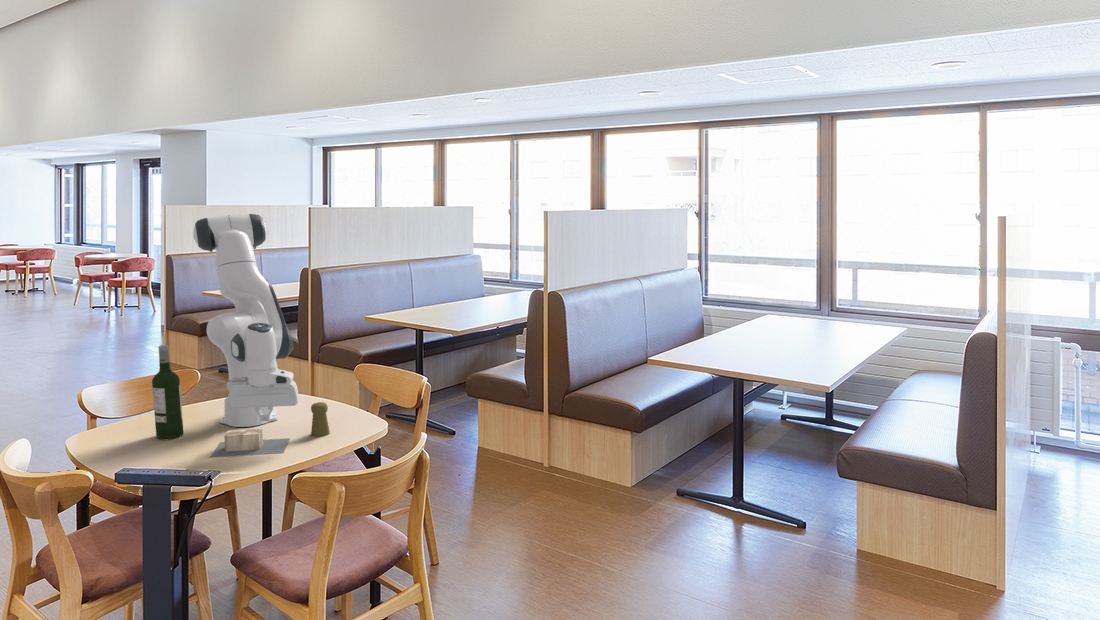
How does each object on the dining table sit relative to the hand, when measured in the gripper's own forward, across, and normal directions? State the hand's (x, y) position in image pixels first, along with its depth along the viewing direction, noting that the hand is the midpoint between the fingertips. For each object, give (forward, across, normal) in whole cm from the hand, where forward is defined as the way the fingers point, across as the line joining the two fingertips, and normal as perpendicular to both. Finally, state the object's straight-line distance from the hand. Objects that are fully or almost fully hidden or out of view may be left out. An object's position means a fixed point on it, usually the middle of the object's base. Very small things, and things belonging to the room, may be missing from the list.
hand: (265, 420), depth 228 cm
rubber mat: (+9, -4, 0) cm, 10 cm away
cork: (+9, +15, +10) cm, 20 cm away
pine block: (+6, -2, 0) cm, 6 cm away
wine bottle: (+9, -33, +18) cm, 39 cm away
